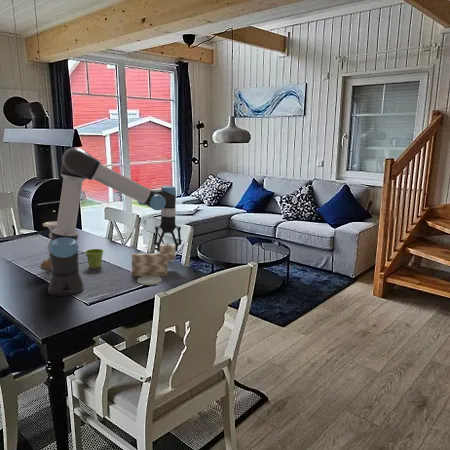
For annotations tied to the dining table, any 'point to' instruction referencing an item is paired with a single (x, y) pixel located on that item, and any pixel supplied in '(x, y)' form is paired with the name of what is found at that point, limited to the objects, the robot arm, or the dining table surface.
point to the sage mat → (149, 280)
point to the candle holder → (51, 226)
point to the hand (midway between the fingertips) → (167, 257)
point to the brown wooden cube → (168, 250)
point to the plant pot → (94, 257)
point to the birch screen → (149, 264)
